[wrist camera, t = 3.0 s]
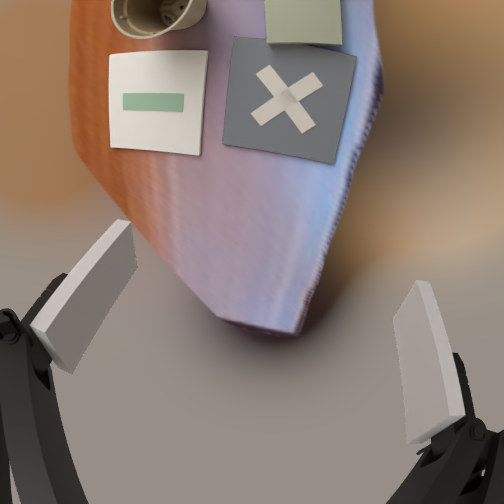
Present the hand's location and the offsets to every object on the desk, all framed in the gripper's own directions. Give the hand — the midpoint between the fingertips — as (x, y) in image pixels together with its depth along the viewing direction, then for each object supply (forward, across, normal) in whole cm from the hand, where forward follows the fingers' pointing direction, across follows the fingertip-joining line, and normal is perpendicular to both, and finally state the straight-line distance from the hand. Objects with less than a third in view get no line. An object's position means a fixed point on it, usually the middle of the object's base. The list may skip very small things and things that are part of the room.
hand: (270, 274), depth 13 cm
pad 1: (+26, -19, +2) cm, 32 cm away
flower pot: (+27, -16, +15) cm, 34 cm away
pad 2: (+26, -2, +4) cm, 27 cm away
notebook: (+26, -2, +17) cm, 31 cm away
